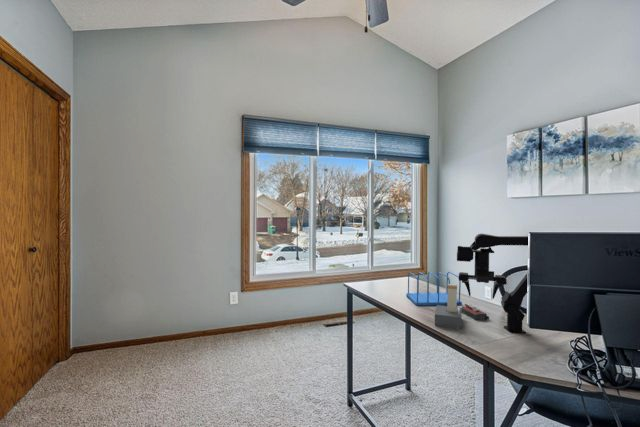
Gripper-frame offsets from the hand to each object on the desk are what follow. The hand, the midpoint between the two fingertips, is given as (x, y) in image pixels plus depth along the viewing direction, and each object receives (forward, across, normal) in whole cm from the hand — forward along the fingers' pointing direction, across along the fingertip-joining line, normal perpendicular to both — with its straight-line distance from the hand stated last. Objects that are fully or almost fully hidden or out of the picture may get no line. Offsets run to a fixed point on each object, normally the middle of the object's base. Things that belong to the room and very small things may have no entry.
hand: (481, 297), depth 144 cm
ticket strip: (+9, -12, 0) cm, 15 cm away
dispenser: (+13, -13, 0) cm, 19 cm away
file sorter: (+13, -22, +32) cm, 41 cm away
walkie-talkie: (+14, -3, +17) cm, 22 cm away
